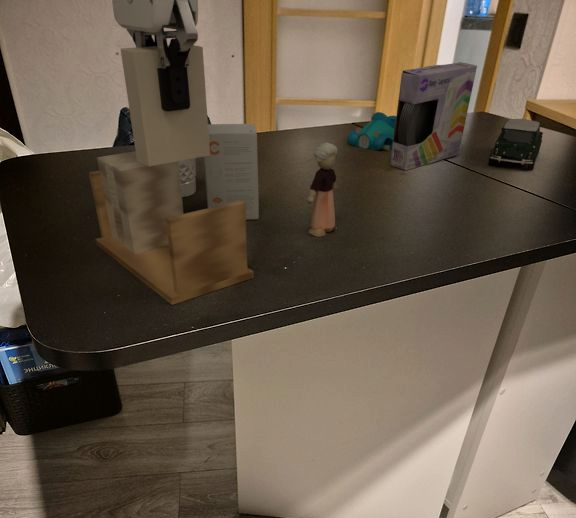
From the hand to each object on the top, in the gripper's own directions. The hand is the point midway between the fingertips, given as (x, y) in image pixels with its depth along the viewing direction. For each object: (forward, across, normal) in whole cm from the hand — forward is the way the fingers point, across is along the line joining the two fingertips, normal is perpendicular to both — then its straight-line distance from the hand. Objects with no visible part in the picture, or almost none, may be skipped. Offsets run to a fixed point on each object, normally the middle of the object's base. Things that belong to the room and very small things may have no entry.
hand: (167, 105), depth 59 cm
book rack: (+20, -4, 0) cm, 20 cm away
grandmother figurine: (+20, 0, +24) cm, 31 cm away
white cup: (+20, -29, +15) cm, 38 cm away
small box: (+20, -14, +17) cm, 30 cm away
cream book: (+6, 0, 0) cm, 6 cm away
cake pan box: (+20, -16, +67) cm, 72 cm away
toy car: (+20, -33, +73) cm, 82 cm away
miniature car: (+20, -5, +84) cm, 87 cm away
